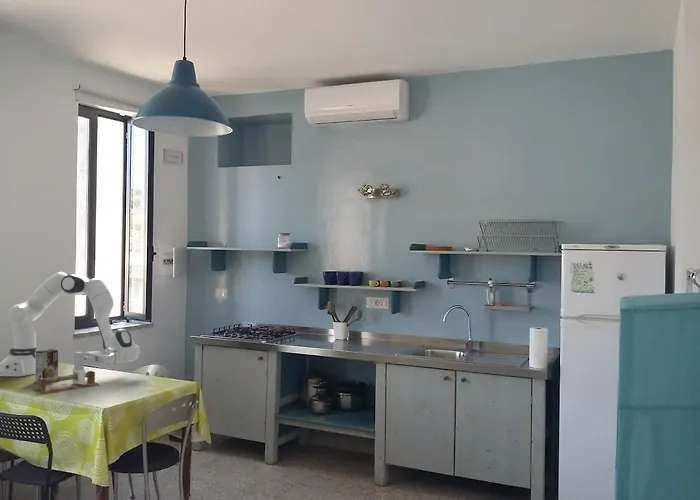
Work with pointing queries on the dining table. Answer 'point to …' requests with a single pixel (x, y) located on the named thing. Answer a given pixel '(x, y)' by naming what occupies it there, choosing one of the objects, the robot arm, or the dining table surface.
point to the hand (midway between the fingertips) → (85, 358)
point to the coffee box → (46, 364)
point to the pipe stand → (63, 387)
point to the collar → (79, 367)
